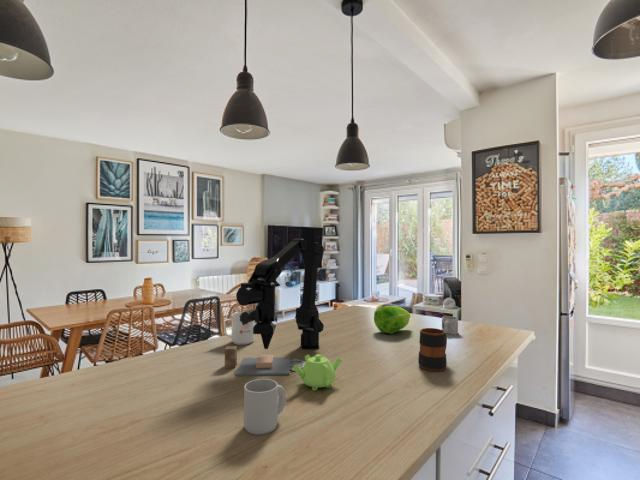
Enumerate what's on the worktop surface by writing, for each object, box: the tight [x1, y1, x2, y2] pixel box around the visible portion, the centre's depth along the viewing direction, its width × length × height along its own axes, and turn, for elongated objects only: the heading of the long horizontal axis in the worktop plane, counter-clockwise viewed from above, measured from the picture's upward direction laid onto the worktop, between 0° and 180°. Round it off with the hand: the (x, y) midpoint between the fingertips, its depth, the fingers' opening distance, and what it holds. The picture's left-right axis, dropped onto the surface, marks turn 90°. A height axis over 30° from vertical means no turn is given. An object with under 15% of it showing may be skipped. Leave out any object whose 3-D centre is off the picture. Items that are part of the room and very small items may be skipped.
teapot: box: [293, 353, 342, 392], centre depth 99 cm, size 11×12×8 cm
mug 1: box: [223, 311, 256, 346], centre depth 139 cm, size 12×9×11 cm
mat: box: [235, 356, 292, 377], centre depth 112 cm, size 16×14×1 cm
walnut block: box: [224, 345, 238, 369], centre depth 113 cm, size 3×3×6 cm
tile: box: [256, 354, 275, 368], centre depth 113 cm, size 5×2×7 cm
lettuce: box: [373, 305, 411, 335], centre depth 157 cm, size 14×20×12 cm
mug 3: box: [441, 315, 459, 336], centre depth 154 cm, size 10×7×7 cm, turn 144°
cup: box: [243, 378, 287, 436], centre depth 78 cm, size 7×10×9 cm
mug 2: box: [417, 327, 448, 372], centre depth 114 cm, size 9×12×12 cm
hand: (266, 348), depth 115 cm, fingers closed
